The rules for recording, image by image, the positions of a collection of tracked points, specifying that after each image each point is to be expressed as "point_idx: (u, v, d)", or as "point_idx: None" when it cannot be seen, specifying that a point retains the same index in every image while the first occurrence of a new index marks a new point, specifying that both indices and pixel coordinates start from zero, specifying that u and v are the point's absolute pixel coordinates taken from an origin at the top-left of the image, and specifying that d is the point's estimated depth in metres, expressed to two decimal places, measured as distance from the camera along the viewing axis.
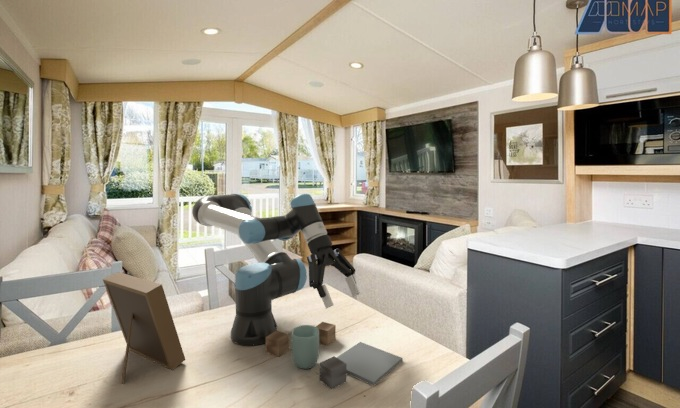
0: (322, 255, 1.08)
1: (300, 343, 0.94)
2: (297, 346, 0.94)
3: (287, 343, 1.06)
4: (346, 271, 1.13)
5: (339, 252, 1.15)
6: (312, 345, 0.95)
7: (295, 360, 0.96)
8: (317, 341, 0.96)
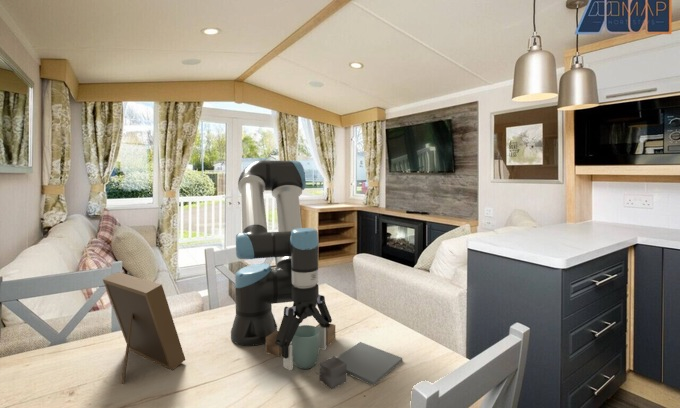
0: (302, 308, 0.94)
1: (300, 343, 0.94)
2: (297, 346, 0.94)
3: None
4: (321, 322, 1.02)
5: (322, 301, 1.01)
6: (312, 345, 0.95)
7: (295, 360, 0.96)
8: (317, 341, 0.96)
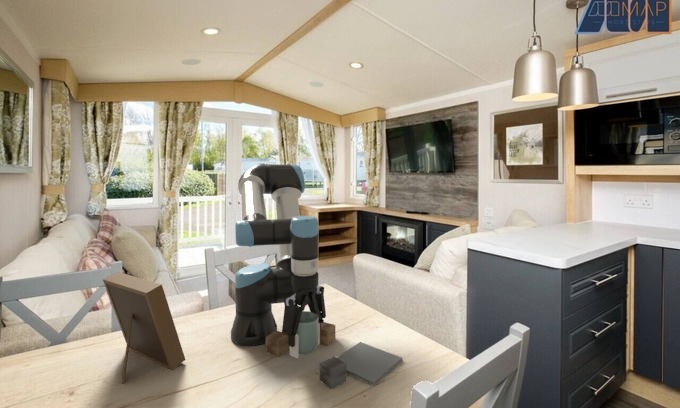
0: (302, 295, 0.94)
1: (299, 328, 0.94)
2: (296, 332, 0.95)
3: (287, 343, 1.06)
4: None
5: (321, 292, 1.01)
6: (311, 331, 0.95)
7: None
8: (316, 327, 0.96)
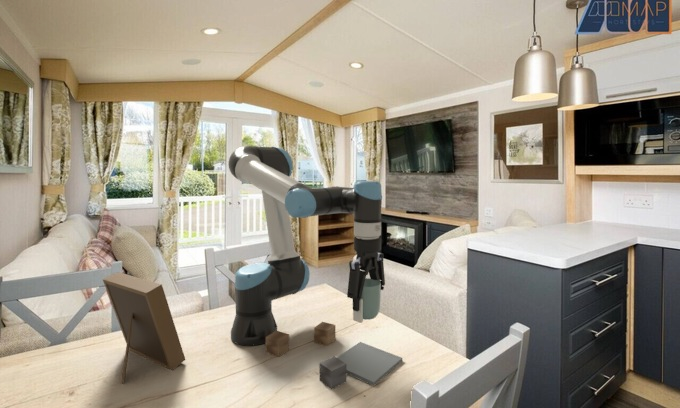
0: (366, 259, 0.94)
1: (364, 292, 0.94)
2: (361, 296, 0.94)
3: (287, 343, 1.06)
4: None
5: (381, 259, 1.00)
6: (376, 295, 0.94)
7: None
8: (379, 292, 0.96)
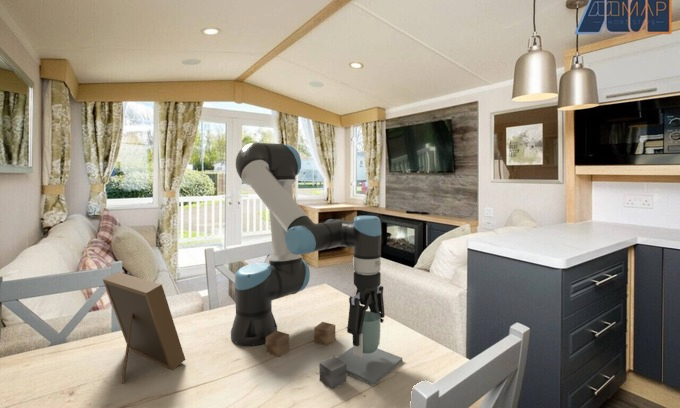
0: (365, 294, 0.95)
1: (364, 327, 0.94)
2: (361, 331, 0.95)
3: (287, 343, 1.06)
4: None
5: (381, 291, 1.01)
6: (375, 330, 0.95)
7: None
8: (379, 326, 0.97)
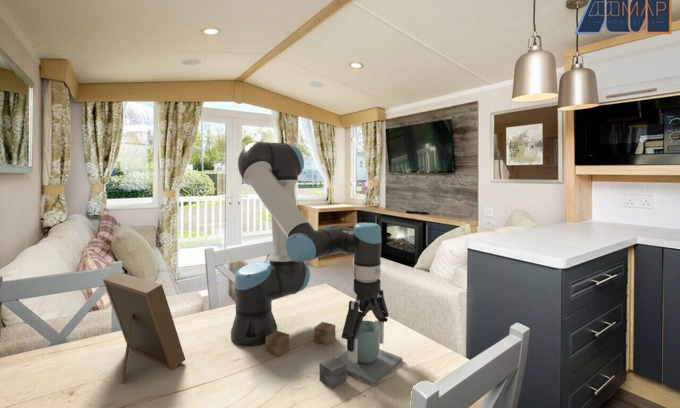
0: (365, 302, 0.95)
1: (363, 338, 0.95)
2: (360, 341, 0.95)
3: (287, 343, 1.06)
4: (380, 317, 1.02)
5: (381, 295, 1.02)
6: (375, 340, 0.95)
7: (357, 355, 0.96)
8: (379, 336, 0.97)
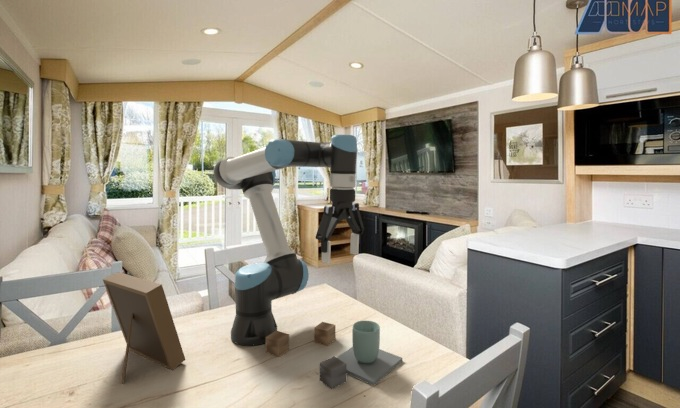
0: (340, 209, 1.00)
1: (363, 338, 0.95)
2: (360, 341, 0.95)
3: (287, 343, 1.06)
4: (355, 229, 1.08)
5: (357, 208, 1.07)
6: (375, 340, 0.95)
7: (357, 355, 0.96)
8: (379, 336, 0.97)
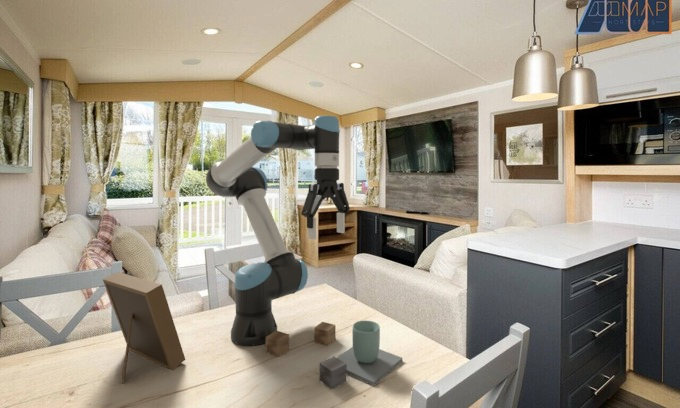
0: (324, 187, 1.05)
1: (363, 338, 0.95)
2: (360, 341, 0.95)
3: (287, 343, 1.06)
4: (340, 208, 1.12)
5: (342, 187, 1.11)
6: (375, 340, 0.95)
7: (357, 355, 0.96)
8: (379, 336, 0.97)
